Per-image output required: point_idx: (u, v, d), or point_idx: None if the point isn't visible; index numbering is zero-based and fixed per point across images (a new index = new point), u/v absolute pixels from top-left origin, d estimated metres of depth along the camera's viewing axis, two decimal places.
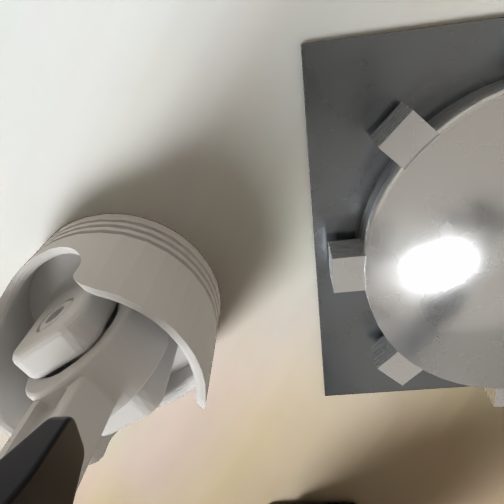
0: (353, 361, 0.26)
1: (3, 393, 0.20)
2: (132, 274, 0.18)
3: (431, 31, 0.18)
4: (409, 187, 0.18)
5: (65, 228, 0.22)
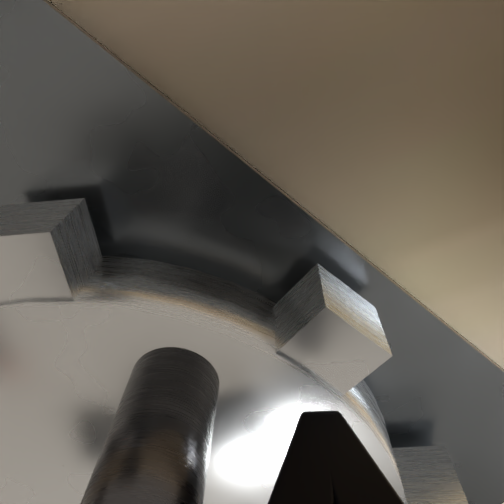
0: (489, 465, 0.13)
1: None
2: None
3: None
4: None
5: None
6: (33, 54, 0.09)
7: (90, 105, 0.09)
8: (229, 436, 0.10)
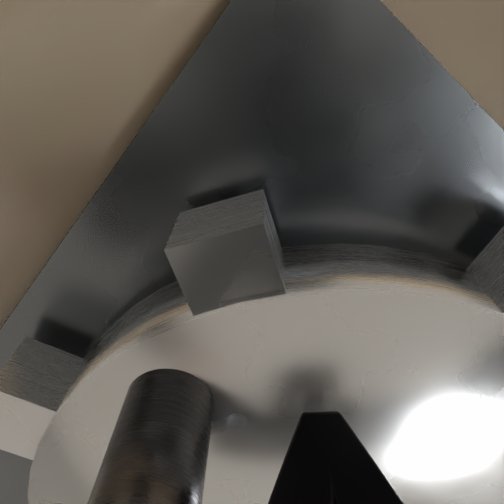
0: None
1: None
2: None
3: None
4: None
5: None
6: (315, 28, 0.08)
7: (369, 82, 0.09)
8: (262, 402, 0.09)
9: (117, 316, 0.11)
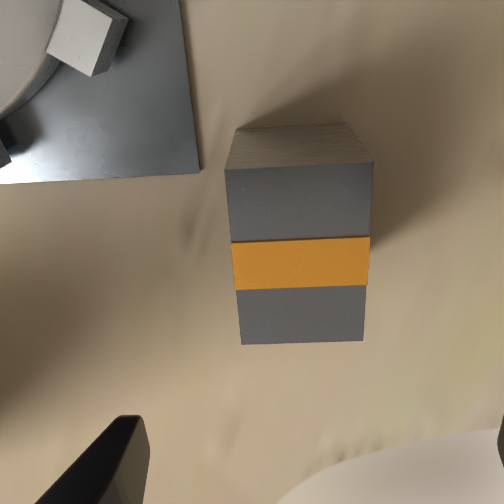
0: None
1: None
2: None
3: None
4: None
5: None
6: (158, 147, 0.17)
7: (120, 149, 0.17)
8: None
9: None
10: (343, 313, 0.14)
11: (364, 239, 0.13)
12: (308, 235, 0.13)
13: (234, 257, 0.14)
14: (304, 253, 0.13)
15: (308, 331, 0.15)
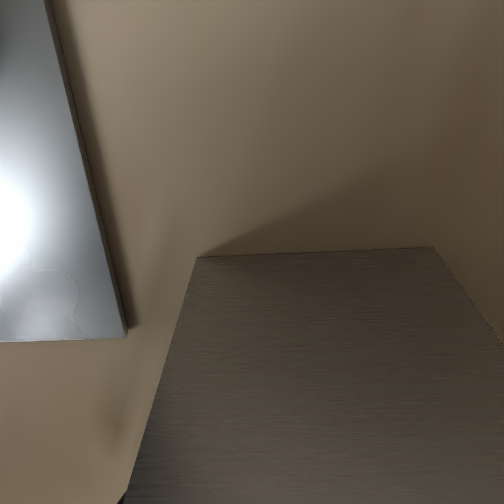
0: None
1: None
2: None
3: None
4: None
5: None
6: (38, 289, 0.08)
7: None
8: None
9: None
10: None
11: None
12: None
13: None
14: None
15: None
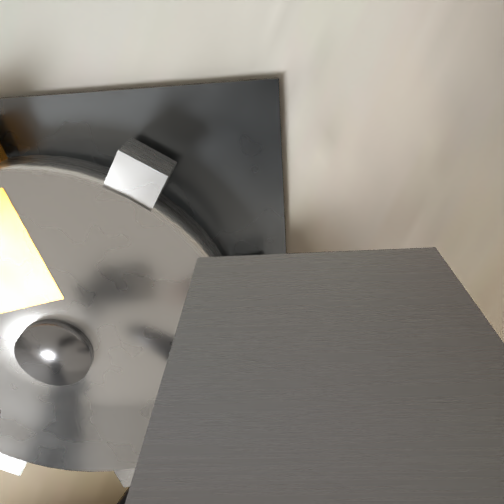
0: None
1: None
2: None
3: None
4: None
5: None
6: None
7: None
8: None
9: None
10: None
11: None
12: None
13: None
14: None
15: None
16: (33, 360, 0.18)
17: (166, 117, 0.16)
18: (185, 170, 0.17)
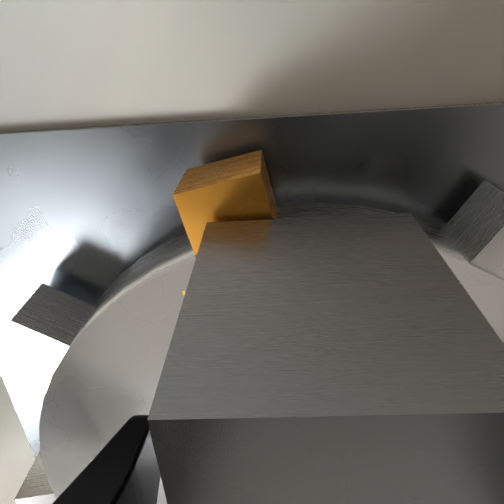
0: None
1: None
2: None
3: (108, 134, 0.11)
4: None
5: None
6: None
7: None
8: None
9: None
10: None
11: None
12: None
13: None
14: None
15: None
16: None
17: None
18: None
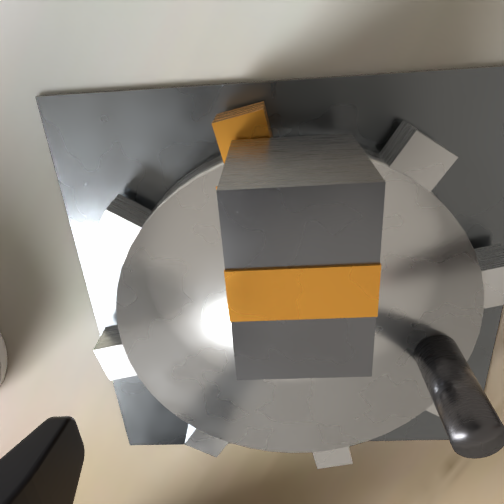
0: (152, 412, 0.25)
1: None
2: None
3: (167, 92, 0.17)
4: (154, 380, 0.20)
5: None
6: None
7: (421, 426, 0.24)
8: (398, 374, 0.20)
9: None
10: (350, 347, 0.13)
11: (374, 267, 0.12)
12: (312, 262, 0.12)
13: (228, 286, 0.12)
14: (307, 281, 0.12)
15: (311, 366, 0.13)
16: None
17: (435, 100, 0.17)
18: None
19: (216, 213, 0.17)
